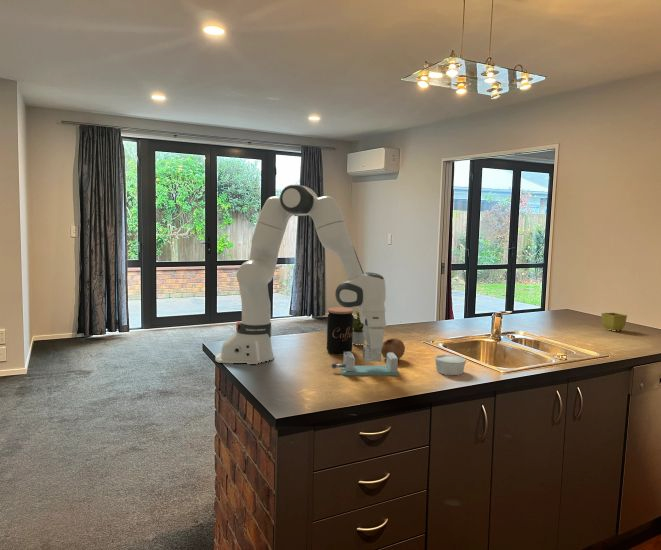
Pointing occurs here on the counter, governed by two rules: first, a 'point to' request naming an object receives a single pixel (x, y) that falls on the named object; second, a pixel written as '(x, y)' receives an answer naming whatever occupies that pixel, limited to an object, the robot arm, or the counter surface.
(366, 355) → the block
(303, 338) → the counter surface
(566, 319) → the counter surface
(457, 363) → the ramekin
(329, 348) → the coffee jar
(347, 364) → the jaw
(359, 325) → the house plant
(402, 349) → the onion
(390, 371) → the vise
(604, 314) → the flower pot
